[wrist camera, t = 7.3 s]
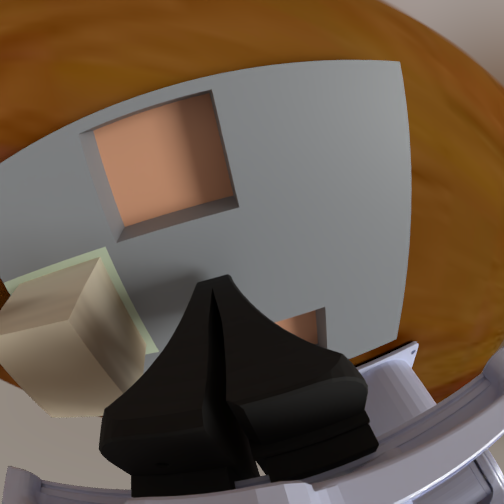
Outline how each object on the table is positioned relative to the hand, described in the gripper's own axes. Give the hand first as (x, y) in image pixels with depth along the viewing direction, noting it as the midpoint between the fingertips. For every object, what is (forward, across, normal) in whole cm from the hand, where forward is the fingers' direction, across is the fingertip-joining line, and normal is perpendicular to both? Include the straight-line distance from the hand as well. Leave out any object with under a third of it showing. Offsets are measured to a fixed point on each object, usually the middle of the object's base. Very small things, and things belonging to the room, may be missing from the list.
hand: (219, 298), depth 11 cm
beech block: (+1, +7, 0) cm, 7 cm away
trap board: (+3, 0, 0) cm, 3 cm away
